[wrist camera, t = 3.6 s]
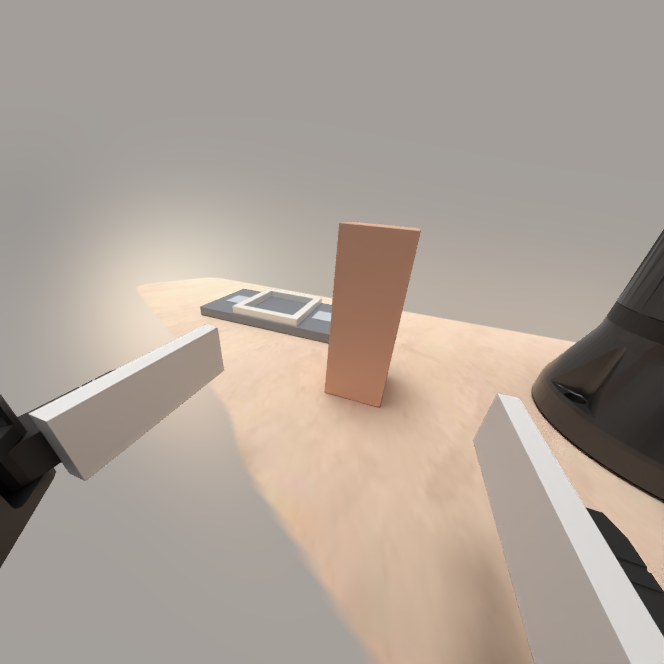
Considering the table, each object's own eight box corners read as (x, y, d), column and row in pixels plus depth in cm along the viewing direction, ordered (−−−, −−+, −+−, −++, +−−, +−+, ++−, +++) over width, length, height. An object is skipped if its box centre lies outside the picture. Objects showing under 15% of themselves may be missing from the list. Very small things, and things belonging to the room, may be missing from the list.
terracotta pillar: (385, 374, 24) (418, 228, 18) (379, 407, 20) (420, 231, 14) (339, 363, 26) (355, 222, 19) (324, 392, 21) (339, 222, 15)
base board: (352, 315, 38) (353, 303, 37) (334, 344, 29) (336, 328, 28) (244, 295, 42) (243, 283, 41) (201, 314, 34) (198, 300, 33)
